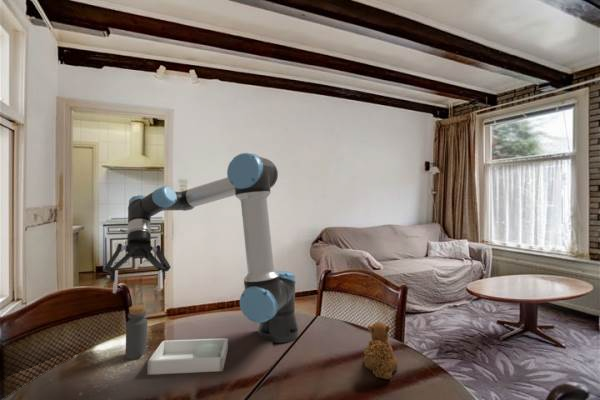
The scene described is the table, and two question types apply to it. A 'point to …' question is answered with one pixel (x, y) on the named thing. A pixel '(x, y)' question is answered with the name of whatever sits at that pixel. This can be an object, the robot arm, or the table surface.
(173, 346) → the tray
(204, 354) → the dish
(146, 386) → the table surface
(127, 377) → the table surface
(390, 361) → the brown fuzzy plush figure
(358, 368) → the table surface
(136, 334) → the bottle
